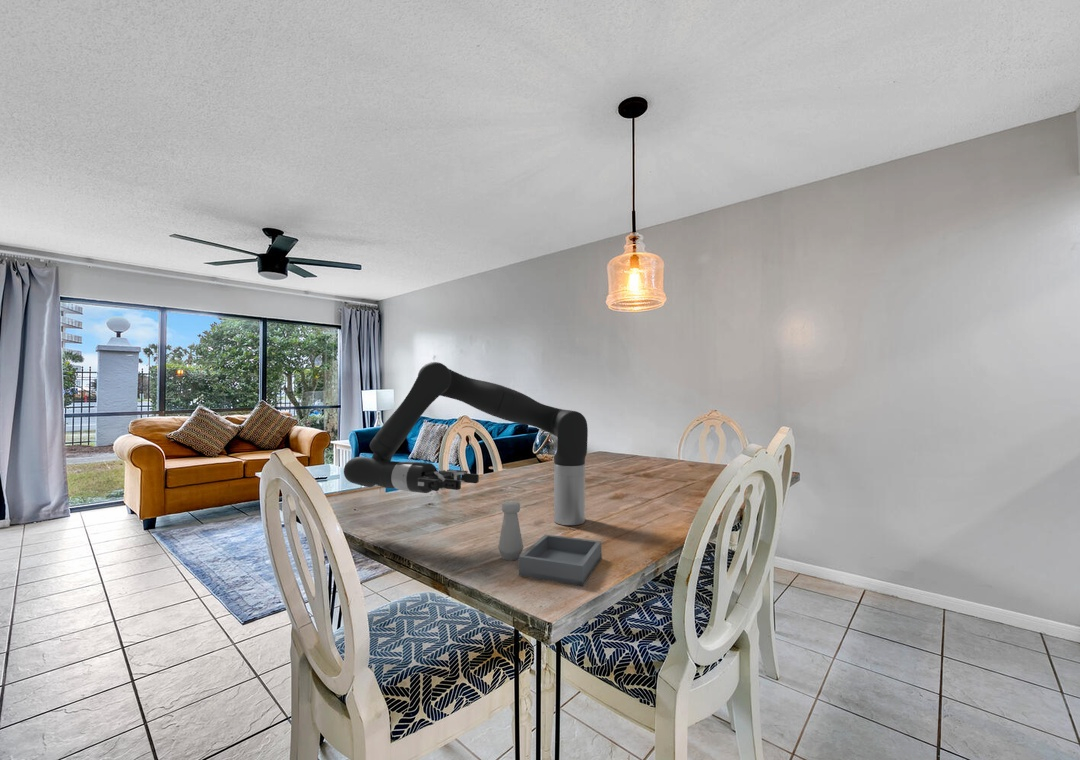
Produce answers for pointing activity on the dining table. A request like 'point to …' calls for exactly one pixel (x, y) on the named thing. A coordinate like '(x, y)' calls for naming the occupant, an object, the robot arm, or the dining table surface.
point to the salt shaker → (510, 532)
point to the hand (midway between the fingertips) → (469, 481)
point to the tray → (560, 559)
